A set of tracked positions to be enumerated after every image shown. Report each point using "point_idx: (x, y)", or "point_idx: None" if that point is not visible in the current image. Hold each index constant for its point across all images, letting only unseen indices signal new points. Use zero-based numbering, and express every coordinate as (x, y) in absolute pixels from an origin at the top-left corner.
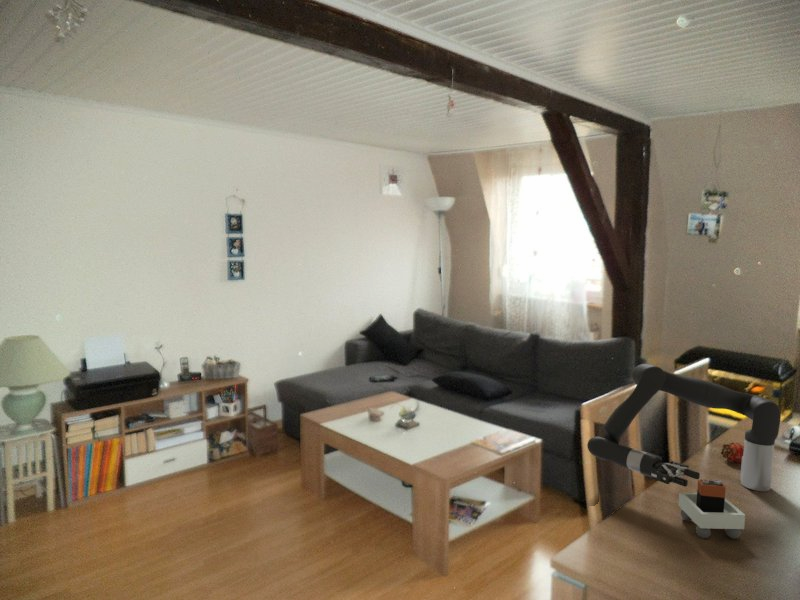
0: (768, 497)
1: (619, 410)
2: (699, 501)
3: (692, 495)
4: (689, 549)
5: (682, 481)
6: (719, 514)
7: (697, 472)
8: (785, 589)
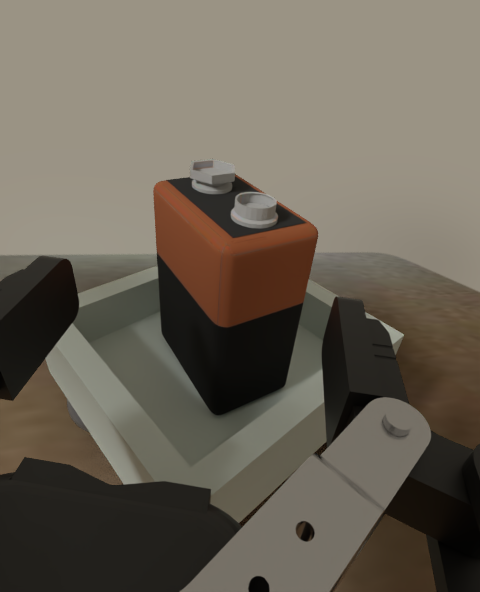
0: None
1: None
2: (279, 351)
3: (153, 425)
4: (471, 447)
5: (386, 332)
6: (321, 287)
7: (45, 262)
8: (390, 259)
